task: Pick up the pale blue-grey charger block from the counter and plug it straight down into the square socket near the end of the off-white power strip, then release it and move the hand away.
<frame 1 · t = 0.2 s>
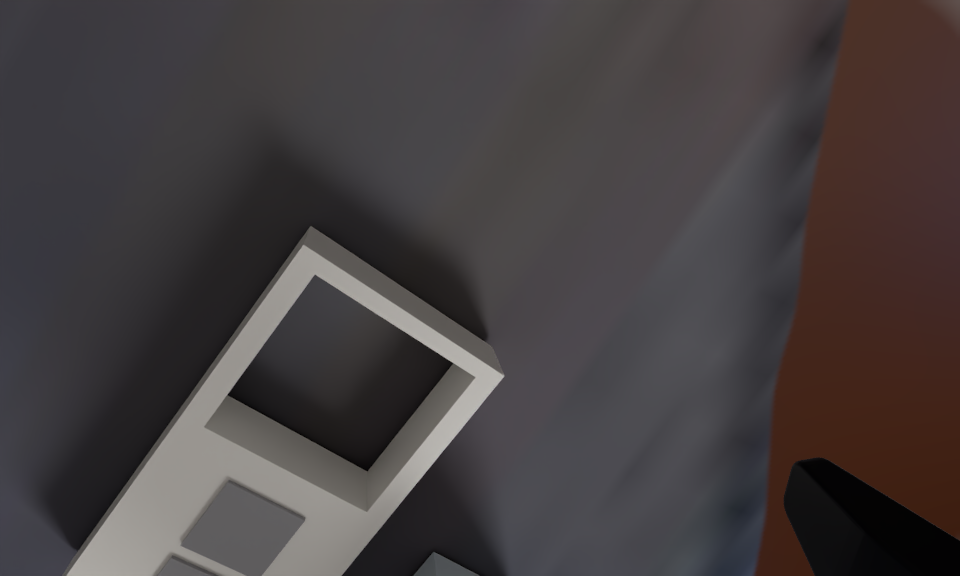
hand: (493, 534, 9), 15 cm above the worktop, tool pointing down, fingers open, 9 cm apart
power strip: (282, 452, 25), on the worktop
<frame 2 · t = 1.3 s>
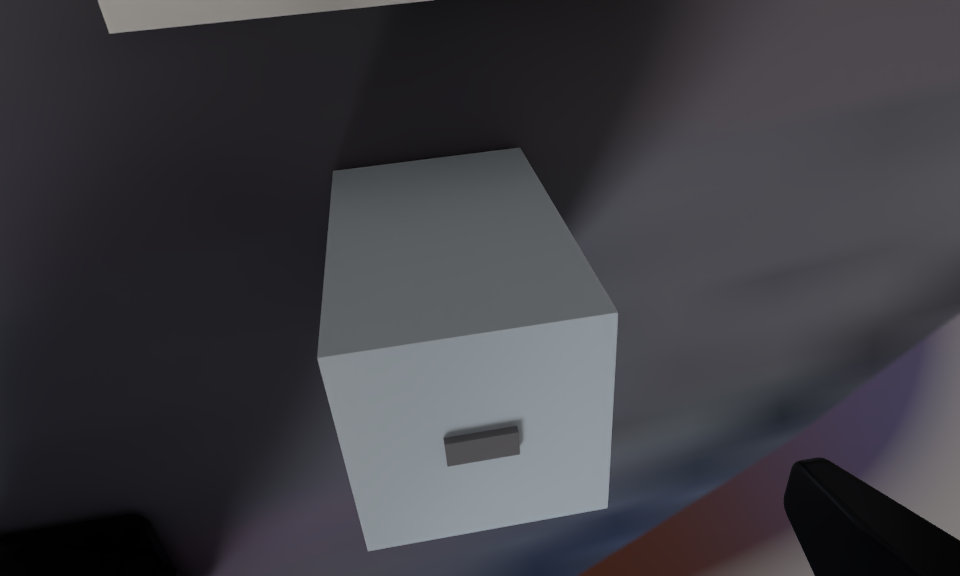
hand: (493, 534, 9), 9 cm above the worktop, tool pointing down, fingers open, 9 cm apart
charger: (437, 241, 16), on the worktop
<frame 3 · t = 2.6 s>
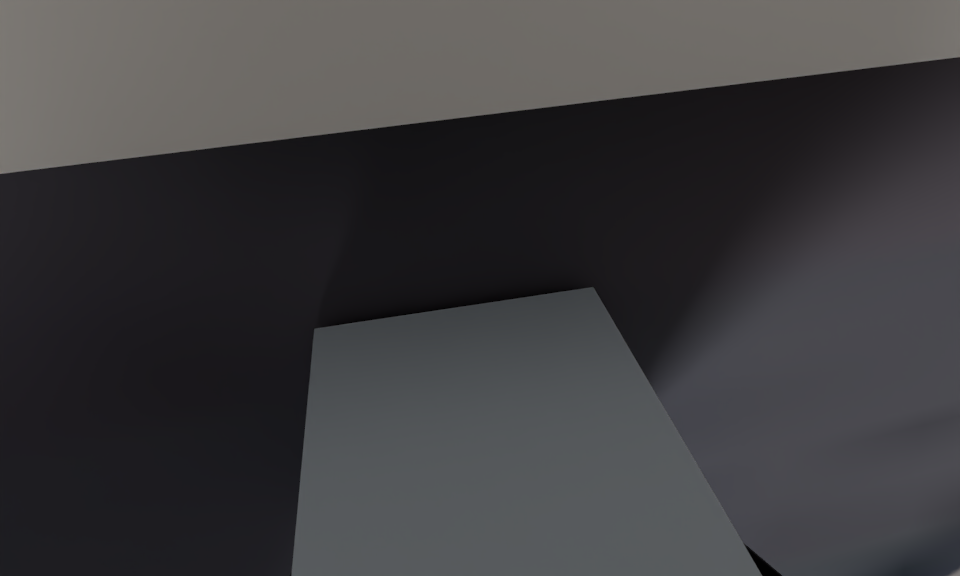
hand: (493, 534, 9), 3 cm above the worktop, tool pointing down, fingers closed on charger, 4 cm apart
charger: (468, 411, 11), on the worktop, touching gripper
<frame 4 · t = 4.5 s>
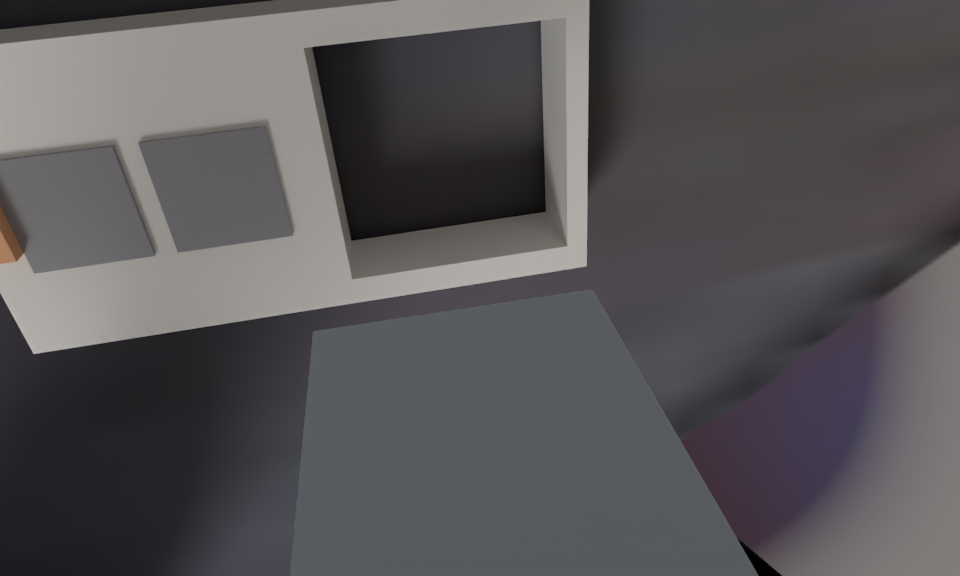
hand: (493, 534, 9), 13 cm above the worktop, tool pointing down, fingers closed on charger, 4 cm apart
power strip: (297, 148, 19), on the worktop
charger: (467, 414, 11), point 11 cm above the worktop, touching gripper
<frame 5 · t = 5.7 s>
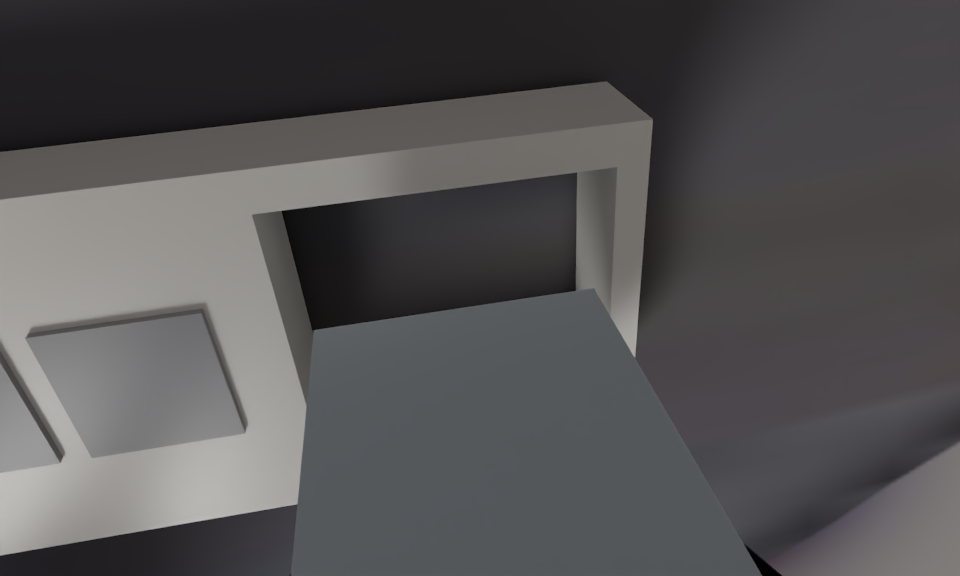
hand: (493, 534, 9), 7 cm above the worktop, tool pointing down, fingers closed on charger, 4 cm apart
power strip: (257, 300, 15), on the worktop
charger: (468, 413, 11), point 5 cm above the worktop, touching gripper
when the fingers open (4 cm above the worktop, at t = 6.6 s): charger drops 2 cm, resting in power strip.
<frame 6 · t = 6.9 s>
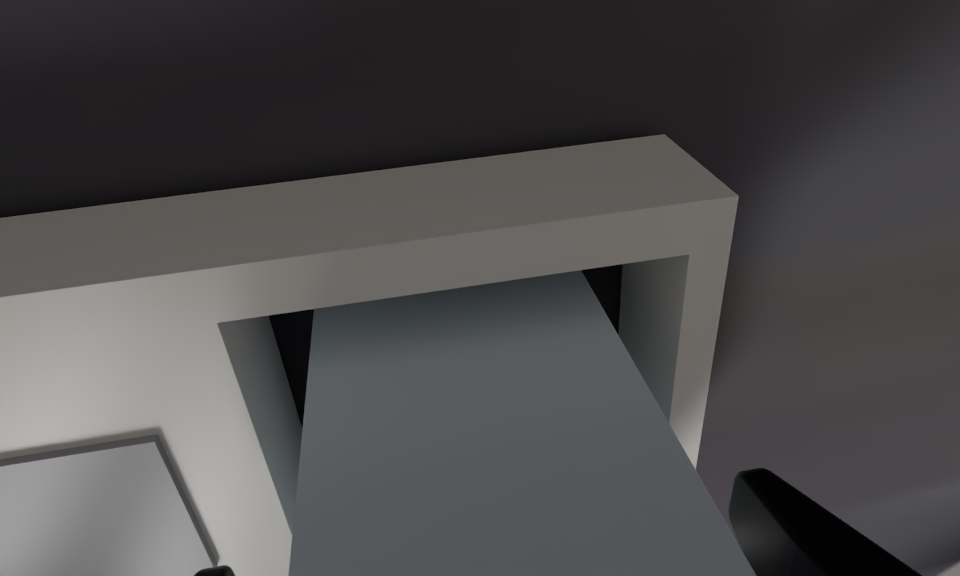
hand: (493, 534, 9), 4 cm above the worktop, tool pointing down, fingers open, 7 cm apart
power strip: (234, 393, 12), on the worktop
charger: (454, 358, 13), resting in power strip
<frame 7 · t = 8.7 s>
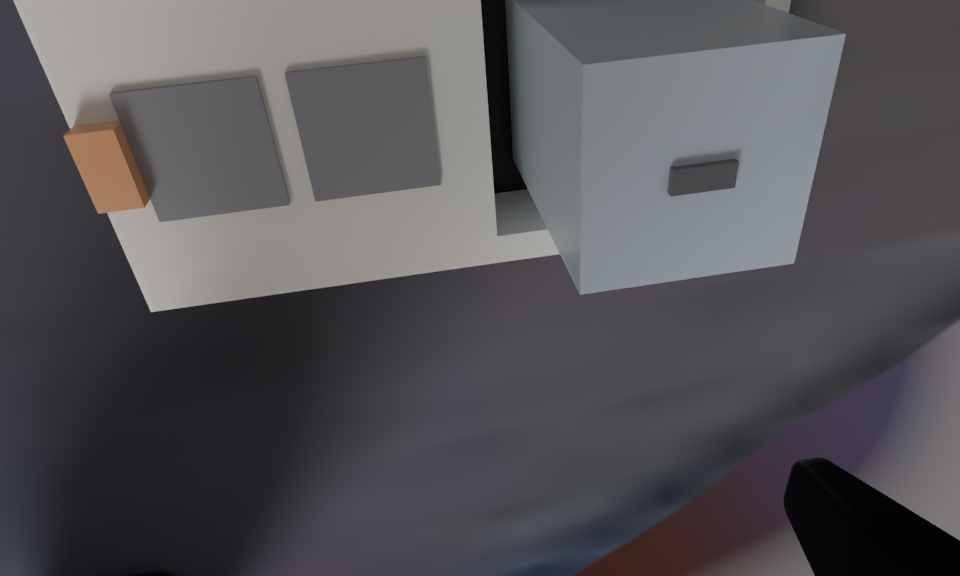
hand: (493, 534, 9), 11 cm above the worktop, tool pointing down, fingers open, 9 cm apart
power strip: (436, 89, 17), on the worktop
charger: (589, 71, 17), resting in power strip
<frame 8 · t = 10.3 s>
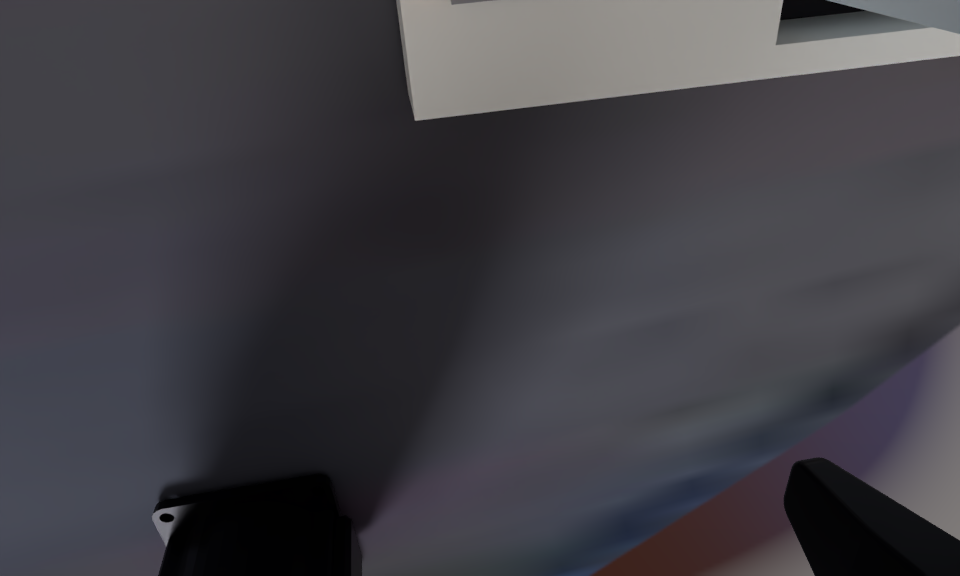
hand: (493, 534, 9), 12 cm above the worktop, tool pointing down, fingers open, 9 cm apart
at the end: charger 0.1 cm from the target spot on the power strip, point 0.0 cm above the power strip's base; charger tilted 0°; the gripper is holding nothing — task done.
